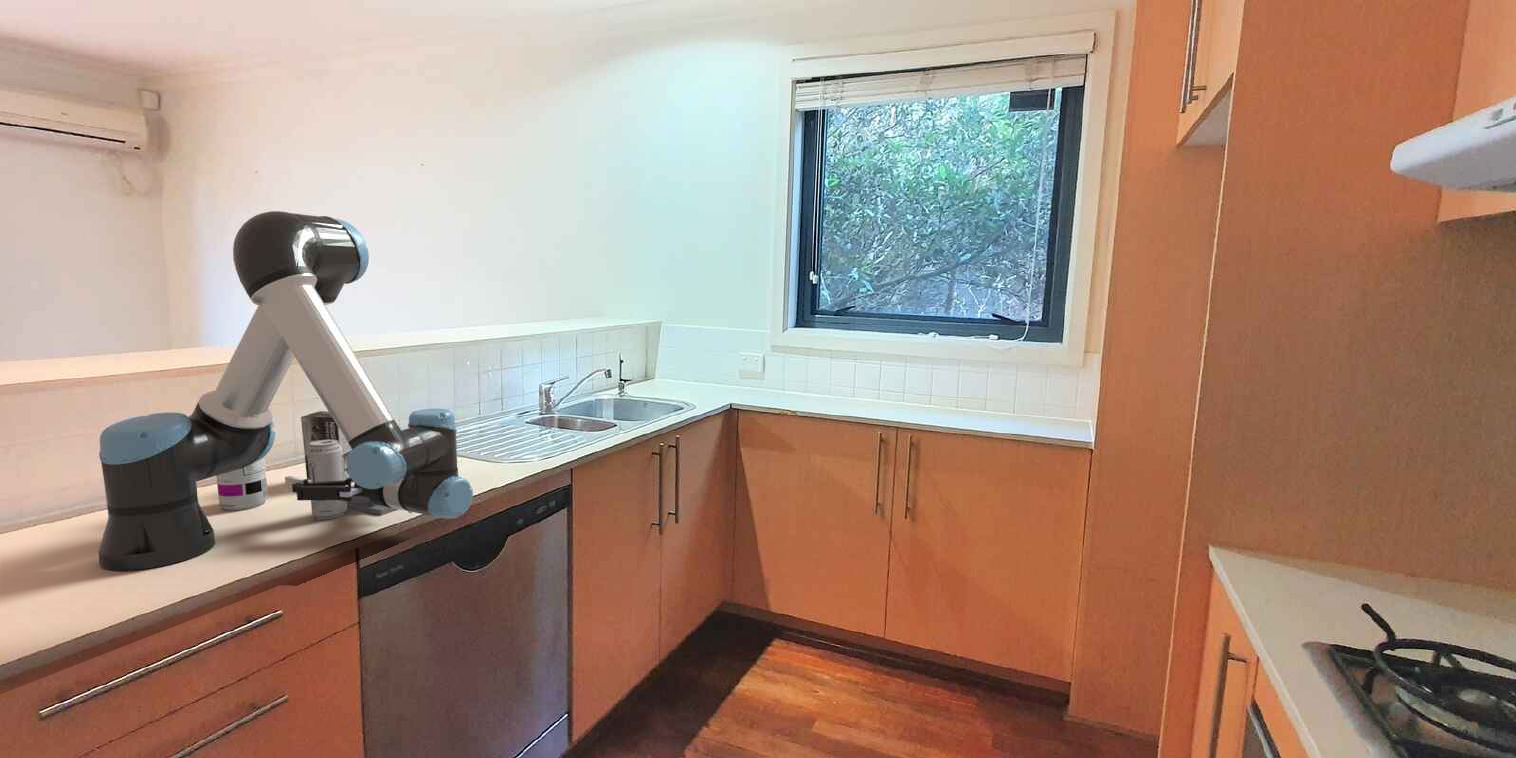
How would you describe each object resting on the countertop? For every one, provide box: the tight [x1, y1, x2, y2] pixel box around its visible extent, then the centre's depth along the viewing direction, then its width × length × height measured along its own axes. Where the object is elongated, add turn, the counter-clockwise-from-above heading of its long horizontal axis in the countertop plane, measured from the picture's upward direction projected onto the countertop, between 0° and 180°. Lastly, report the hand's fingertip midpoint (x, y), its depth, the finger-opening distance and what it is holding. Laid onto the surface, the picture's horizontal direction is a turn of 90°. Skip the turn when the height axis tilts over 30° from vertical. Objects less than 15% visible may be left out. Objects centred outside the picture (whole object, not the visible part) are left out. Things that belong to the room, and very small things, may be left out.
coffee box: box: [300, 410, 354, 483], centre depth 161 cm, size 9×6×16 cm
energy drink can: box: [307, 440, 348, 521], centre depth 139 cm, size 6×6×15 cm
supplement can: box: [215, 456, 269, 511], centre depth 144 cm, size 8×8×15 cm
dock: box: [347, 485, 399, 516], centre depth 151 cm, size 19×13×4 cm
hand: (321, 474), depth 139 cm, fingers open, 13 cm apart
